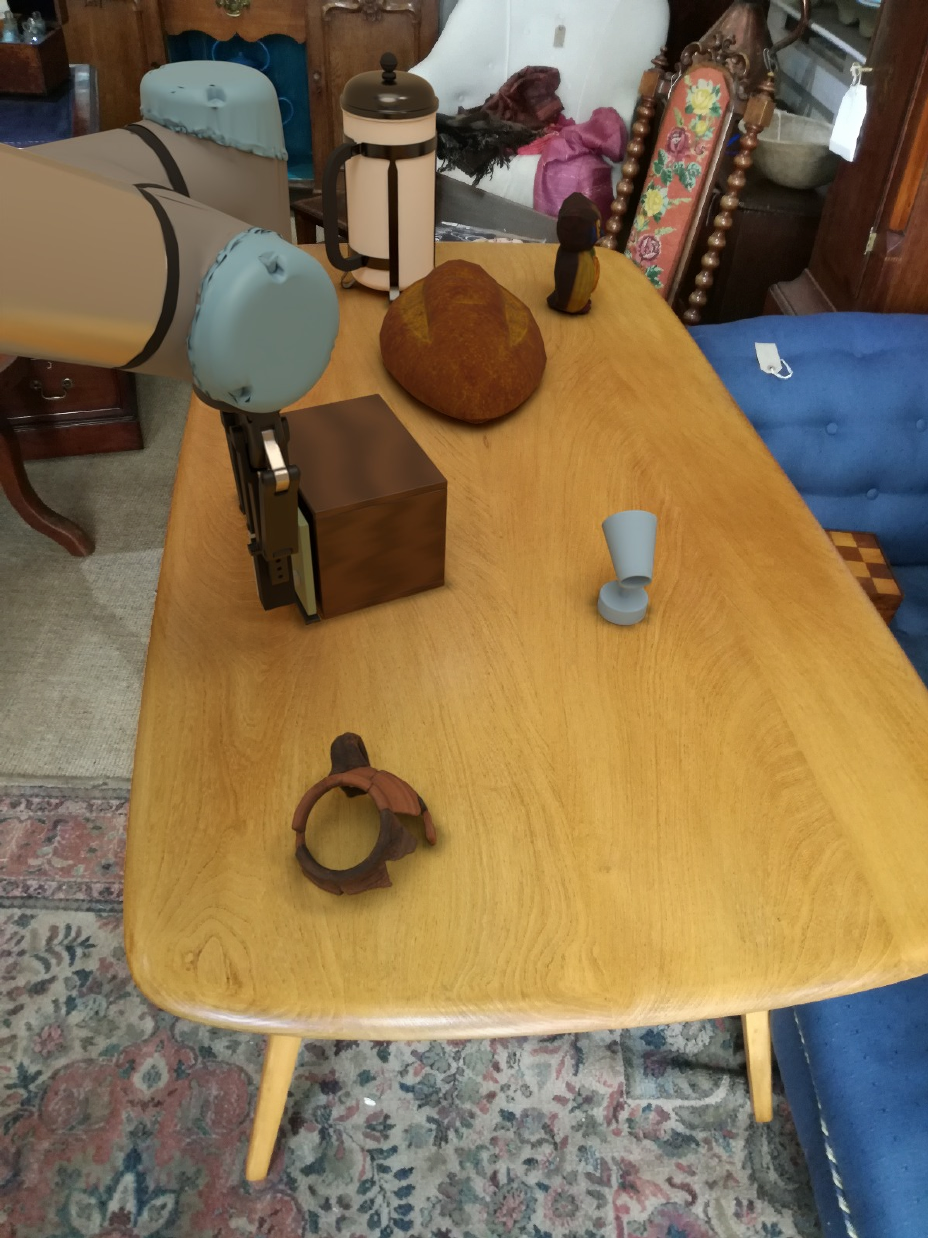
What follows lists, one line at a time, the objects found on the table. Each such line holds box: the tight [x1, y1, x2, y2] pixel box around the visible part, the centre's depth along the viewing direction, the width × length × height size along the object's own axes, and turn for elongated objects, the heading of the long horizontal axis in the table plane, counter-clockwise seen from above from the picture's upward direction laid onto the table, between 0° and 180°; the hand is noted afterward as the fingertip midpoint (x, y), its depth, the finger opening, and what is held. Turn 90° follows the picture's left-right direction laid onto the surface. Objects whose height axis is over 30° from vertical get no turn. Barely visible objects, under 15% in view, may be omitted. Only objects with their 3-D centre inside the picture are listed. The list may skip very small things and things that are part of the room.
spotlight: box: [596, 509, 658, 626], centre depth 84 cm, size 5×10×7 cm
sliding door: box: [247, 507, 317, 615], centre depth 84 cm, size 5×16×10 cm, turn 26°
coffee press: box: [321, 51, 440, 306], centre depth 126 cm, size 17×16×30 cm
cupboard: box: [279, 393, 449, 626], centre depth 89 cm, size 14×21×12 cm, turn 26°
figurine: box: [546, 191, 606, 315], centre depth 129 cm, size 10×7×15 cm
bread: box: [378, 258, 548, 424], centre depth 115 cm, size 21×33×12 cm, turn 3°
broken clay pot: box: [291, 731, 437, 897], centre depth 66 cm, size 12×10×8 cm
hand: (278, 601), depth 77 cm, fingers closed
